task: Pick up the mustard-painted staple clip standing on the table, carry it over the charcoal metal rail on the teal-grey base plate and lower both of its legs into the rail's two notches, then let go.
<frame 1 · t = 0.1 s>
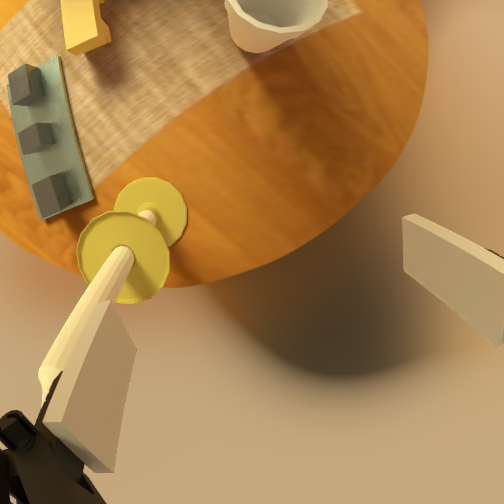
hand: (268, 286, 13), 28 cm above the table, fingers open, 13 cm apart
candle: (150, 214, 39), on the table
rail: (47, 137, 32), on the table
foam cup: (255, 32, 32), on the table
clip: (92, 20, 27), on the table
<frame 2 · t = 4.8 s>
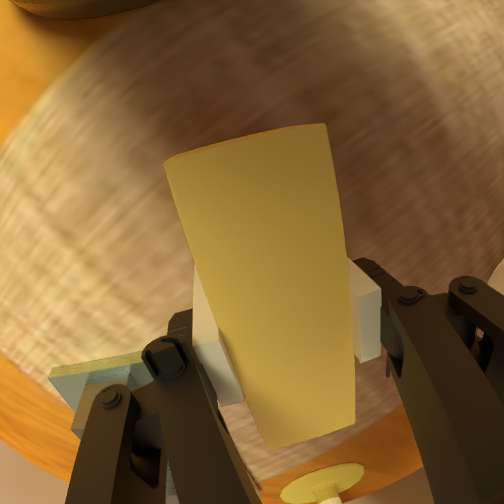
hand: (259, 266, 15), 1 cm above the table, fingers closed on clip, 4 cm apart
candle: (322, 483, 27), on the table
rail: (174, 450, 20), on the table
foam cup: (501, 286, 20), on the table
clip: (257, 260, 15), on the table, touching gripper
when the fingers open (3 cm above the table, at t = 9.5 s): clip stays where it is, resting on rail.
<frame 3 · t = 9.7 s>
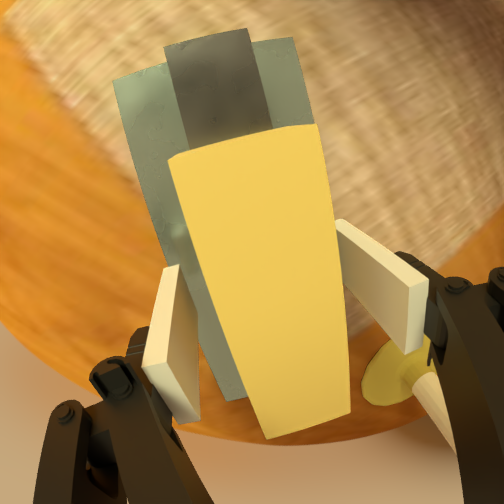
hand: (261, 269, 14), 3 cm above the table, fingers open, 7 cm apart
candle: (408, 363, 24), on the table
rail: (250, 245, 17), on the table
clip: (256, 255, 16), point 1 cm above the table, touching rail
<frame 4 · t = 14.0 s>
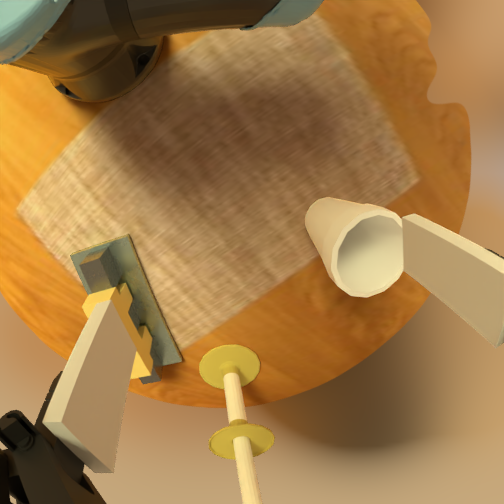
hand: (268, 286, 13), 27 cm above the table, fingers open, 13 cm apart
candle: (229, 366, 48), on the table
rail: (128, 309, 41), on the table
foam cup: (326, 219, 41), on the table
clip: (126, 315, 40), point 1 cm above the table, touching rail
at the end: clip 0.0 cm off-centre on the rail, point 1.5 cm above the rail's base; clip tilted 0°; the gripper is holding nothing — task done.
